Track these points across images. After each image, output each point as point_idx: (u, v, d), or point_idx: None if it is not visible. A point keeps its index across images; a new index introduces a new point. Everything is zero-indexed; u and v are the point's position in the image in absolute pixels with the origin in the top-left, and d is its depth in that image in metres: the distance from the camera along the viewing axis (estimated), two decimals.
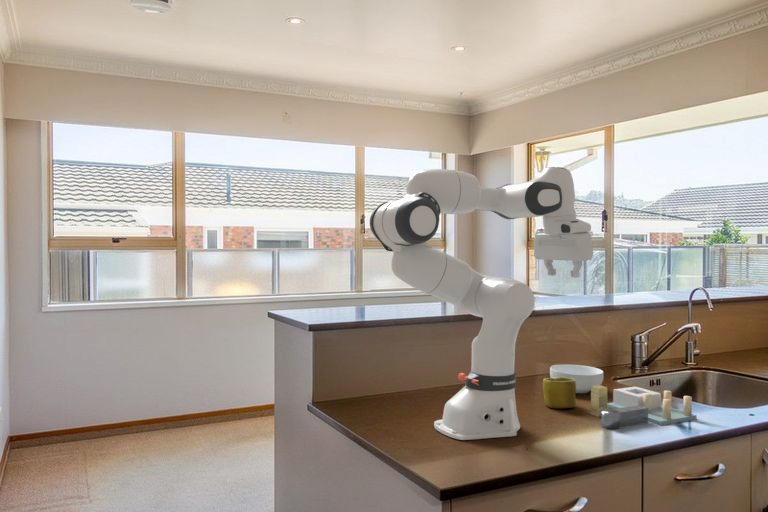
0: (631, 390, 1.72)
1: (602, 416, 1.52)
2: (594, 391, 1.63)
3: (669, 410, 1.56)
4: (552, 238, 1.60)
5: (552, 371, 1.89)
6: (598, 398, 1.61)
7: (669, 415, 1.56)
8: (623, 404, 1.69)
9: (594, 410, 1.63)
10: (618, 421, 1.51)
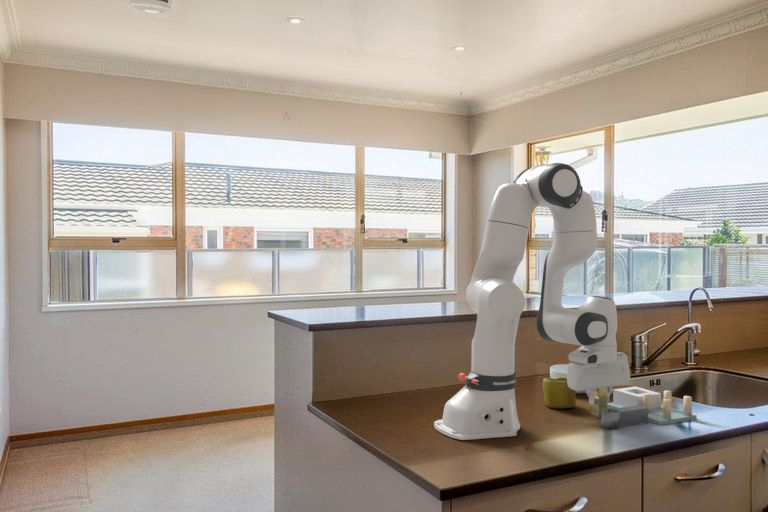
0: (631, 390, 1.72)
1: (602, 416, 1.52)
2: None
3: (669, 410, 1.56)
4: None
5: (552, 371, 1.89)
6: (598, 398, 1.61)
7: (669, 415, 1.56)
8: (623, 404, 1.69)
9: (594, 410, 1.63)
10: (618, 421, 1.51)
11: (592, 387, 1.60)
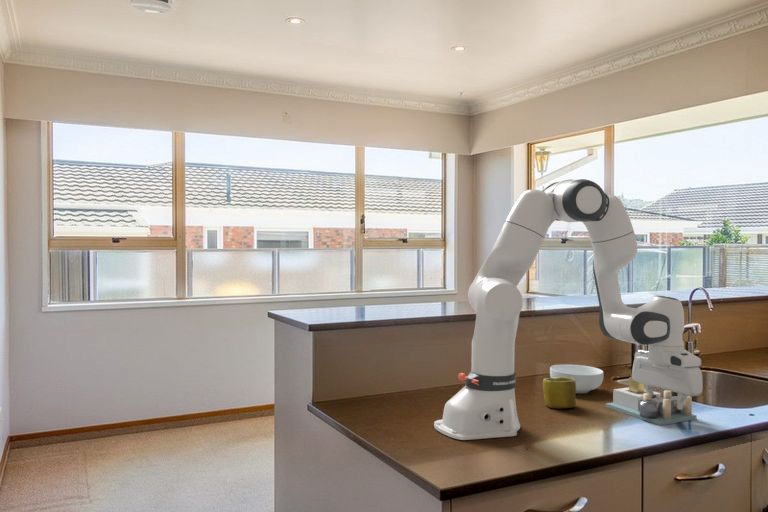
0: None
1: (641, 406, 1.58)
2: (632, 382, 1.69)
3: (669, 410, 1.56)
4: (658, 366, 1.59)
5: (552, 371, 1.89)
6: (636, 389, 1.68)
7: (669, 415, 1.56)
8: (623, 404, 1.69)
9: None
10: (657, 411, 1.57)
11: None
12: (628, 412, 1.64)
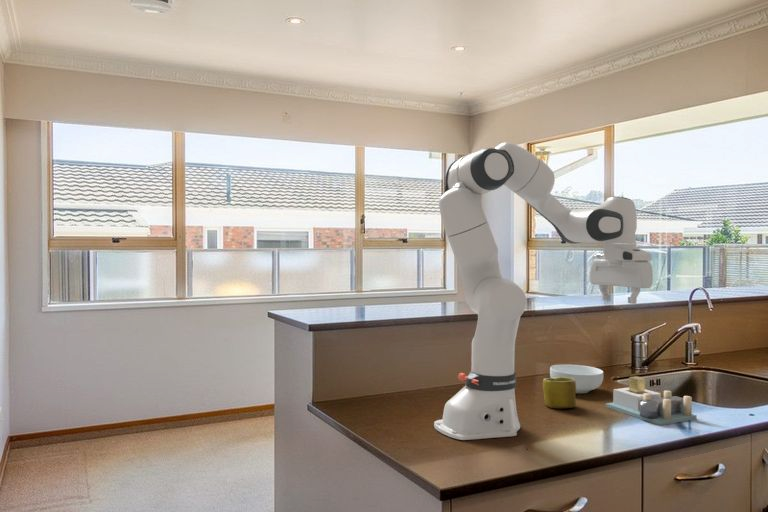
0: None
1: (641, 406, 1.58)
2: (632, 382, 1.69)
3: (669, 410, 1.56)
4: (612, 264, 1.66)
5: (552, 371, 1.89)
6: (636, 389, 1.68)
7: (669, 415, 1.56)
8: (623, 404, 1.69)
9: None
10: (657, 411, 1.57)
11: None
12: (628, 412, 1.64)
